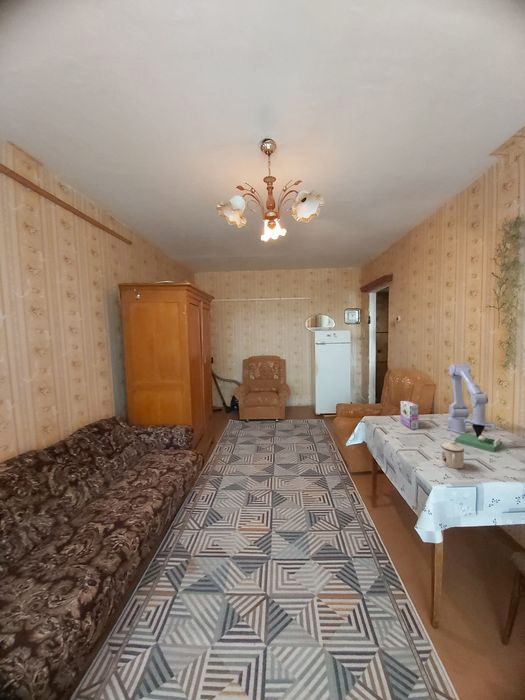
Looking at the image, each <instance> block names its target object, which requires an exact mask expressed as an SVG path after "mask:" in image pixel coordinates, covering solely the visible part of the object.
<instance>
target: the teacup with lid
mask: <svg viewBox="0 0 525 700" xmlns="http://www.w3.org/2000/svg"><path fill="white" fill-rule="evenodd" d="M441 448H442V449H441V450H442V451H441V452H442V453H441V455H442V459H441V461H442V464H443V466H446V467H448V468H452V469H462V468H464V460H465V459H464V457H465V456H464V455H465V454H464V451H465V449H464V446H462V445H460V444H459V443H457V442H455V440H450V441H449V442H445V443H442V445H441Z"/></svg>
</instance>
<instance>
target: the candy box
mask: <svg viewBox="0 0 525 700" xmlns="http://www.w3.org/2000/svg"><path fill="white" fill-rule="evenodd" d="M399 402H400V403H399V404H400V424H401V423H402V425H403V424H404V425H403V426H405V428H407V429H409V430H419V429H420V428H419V404H416V403H414V402H411V401H409V400H400V401H399Z"/></svg>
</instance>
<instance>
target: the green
mask: <svg viewBox="0 0 525 700" xmlns="http://www.w3.org/2000/svg"><path fill="white" fill-rule="evenodd" d="M454 442H455V443H456V444H459V445H460V444H462V445H464V446H469V447H473V448H477V449H480V450H484V451H486V452H487V451H488V452H492V453H495V452H496V451H498V450H500V449H501V447H503V441H502V440H501V437H498V438H496V439H493V438H490V437H486V439H485V440H484V441H480V440H479V439H478V438H477V436H476V434H473V433H468V432H466V433H463V434H462V433H461V434H459V435H458V436H456V437H455V438H454Z"/></svg>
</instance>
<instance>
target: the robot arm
mask: <svg viewBox="0 0 525 700" xmlns="http://www.w3.org/2000/svg"><path fill="white" fill-rule="evenodd" d="M448 371H449V377H450V378H451V383H452V384H451V385H452V393H453V394H452V396H453V402H452V403H451V404H449V406H448V407H449V408H448V414H449V416H448V417H447V429H446V431H450V432H454V433H459V434H461V435H462V434H463V433H468V432H469V430H467V428H466V427H467V424H471V427H472V429H473V430H474V432H475V435H476V436H477V438H478V437H479V435H480V434H482V433H483V431H484V429H485V428H490V429H494V430H495V429H496V424H493V423H489V422H486V405H487V404H488V403H489V397H488V395H487V394H486V393H485V392H482V389H481V388H480V386H479V385H478V383H476V382H474V380H473V377H472V375H471V366H470V365H469V364H467V363H466V364H465V363H464V364H462V363H461V364H458V363H457V364H454V363H451V364H450V366H449V368H448ZM462 380H463V381H464V382H465V383H466V387H465V388H466V389H467V392H468V393H469V395H470V402H471V406H472V419H468V418H469V416H470V410H469V406H468V405H467V404H465V403H464V395H463V384H462V383H463V382H462Z"/></svg>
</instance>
